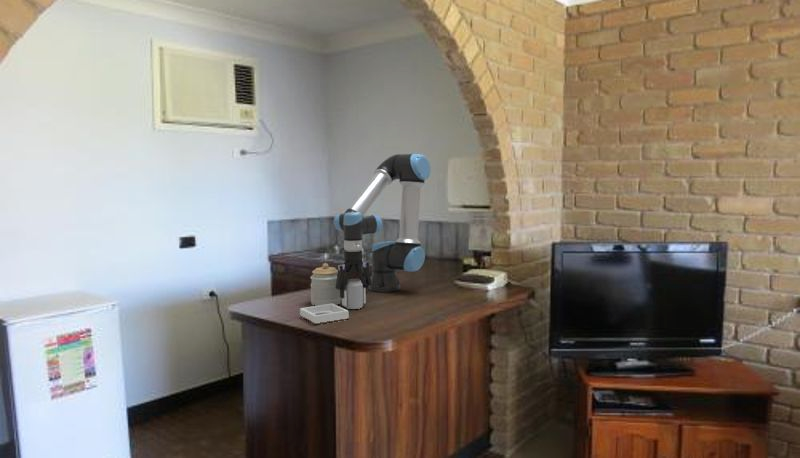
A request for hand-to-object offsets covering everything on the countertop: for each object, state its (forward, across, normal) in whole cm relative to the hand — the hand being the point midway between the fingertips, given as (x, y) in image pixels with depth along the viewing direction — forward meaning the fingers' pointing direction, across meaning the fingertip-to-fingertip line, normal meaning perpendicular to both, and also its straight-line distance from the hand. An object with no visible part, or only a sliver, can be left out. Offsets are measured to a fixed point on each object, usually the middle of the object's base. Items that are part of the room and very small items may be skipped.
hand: (353, 304), depth 226 cm
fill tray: (+2, -17, -7) cm, 18 cm away
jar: (+2, -6, +14) cm, 15 cm away
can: (+2, 0, 0) cm, 2 cm away
